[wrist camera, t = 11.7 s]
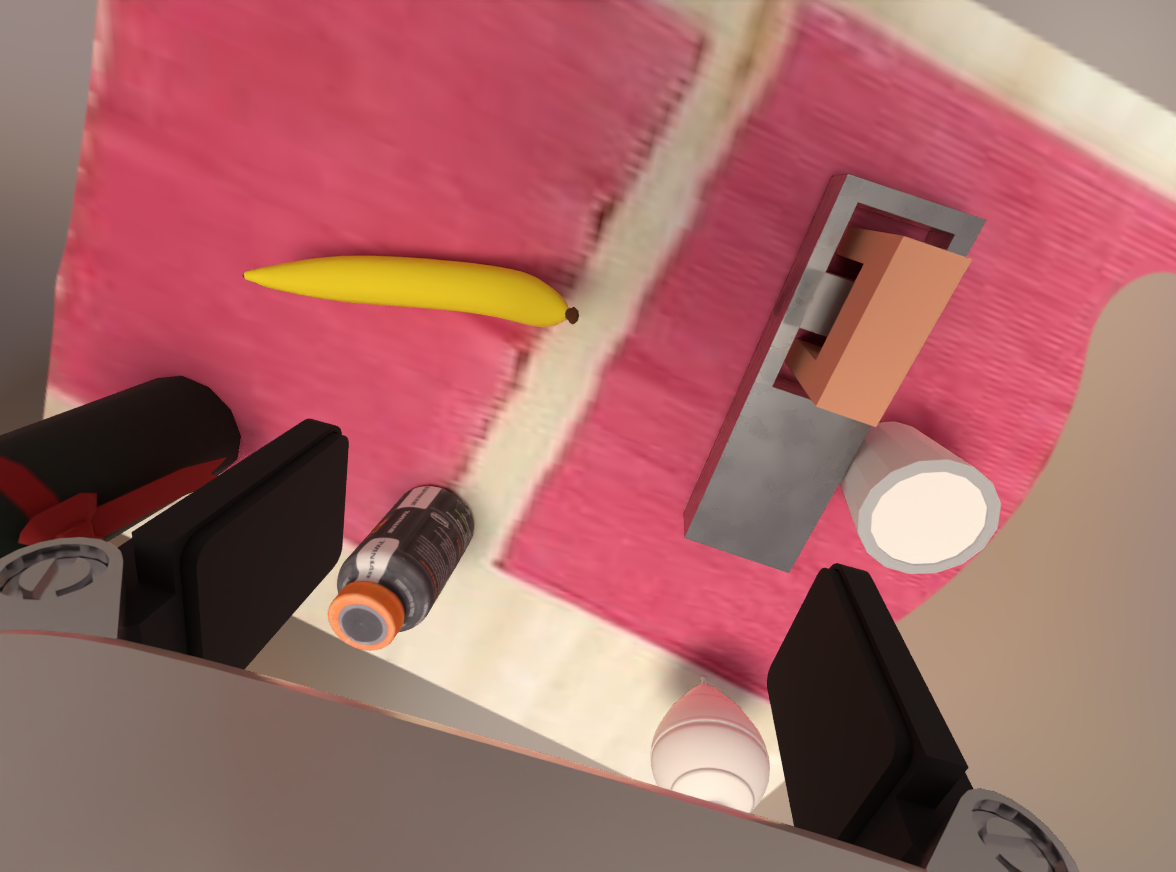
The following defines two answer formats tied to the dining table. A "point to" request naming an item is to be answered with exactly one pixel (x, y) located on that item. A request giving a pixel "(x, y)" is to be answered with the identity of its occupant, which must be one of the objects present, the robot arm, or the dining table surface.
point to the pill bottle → (400, 568)
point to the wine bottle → (112, 462)
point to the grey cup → (917, 501)
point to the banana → (421, 286)
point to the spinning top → (710, 751)
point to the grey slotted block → (798, 394)
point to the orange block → (877, 323)
